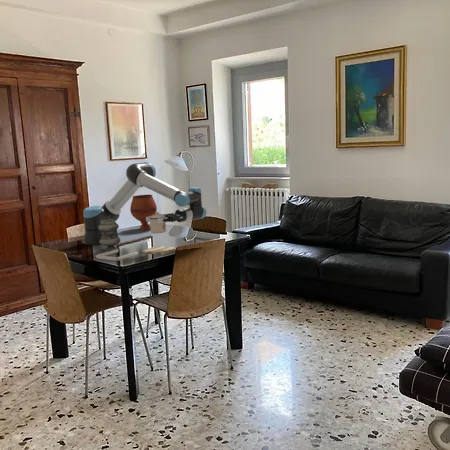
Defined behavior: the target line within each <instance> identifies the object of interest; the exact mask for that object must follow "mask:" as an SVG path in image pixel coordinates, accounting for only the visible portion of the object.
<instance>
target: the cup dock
mask: <svg viewBox="0 0 450 450" xmlns="http://www.w3.org/2000/svg"><path fill="white" fill-rule="evenodd" d="M116 253H119V250H118V249H116V250H112V251H109V252H102V253H98V252H97V253H96V254H95V259H100V260H109V261H116V262H118V261H121V260H125V259H128V258H132V257H135V256H137V255H139V251H135V252H131V253H128V254H127V253H126V254H123V255H121V256H117V257H116V256H110V255H113V254H116Z"/></svg>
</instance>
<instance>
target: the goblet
mask: <svg viewBox="0 0 450 450" xmlns="http://www.w3.org/2000/svg"><path fill="white" fill-rule="evenodd" d="M129 209H130V214H131V216H132V217H133V218H134V219H136V220H137V221H139V222H140V224H141V225H140V226H139V231H145V230H147V231H148V230H151V227H150V225H149V222H146V217H150V216H152V215H154V214H155V212H158V211H157V209H158V208H157V203H156V201H155V199H154V197H153V194H140V195H132V199H131V203H130V207H129Z"/></svg>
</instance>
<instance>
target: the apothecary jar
mask: <svg viewBox="0 0 450 450" xmlns="http://www.w3.org/2000/svg"><path fill="white" fill-rule="evenodd" d="M119 227H120V226H119V223H117V222H116V221H115V220H103V221H101V224H100V225H99V227H98V229H99V230H100V231H101V239H100V244H99V245H101V246H103V247H105V248H103V249H102V253H105V252H109V251H112V250H116V249H118V251H119V250H120V248H119V247H117V245H118V244H120V242H121V239H120V238H121V237H119V236H118V229H119Z"/></svg>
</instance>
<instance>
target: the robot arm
mask: <svg viewBox="0 0 450 450" xmlns="http://www.w3.org/2000/svg"><path fill="white" fill-rule="evenodd" d="M156 171H157V170H156V168H155V166H154V165H153V164H152V163H150V162H138V163H136V162H135V163H132V164H130V165H129V166H128V167H127V168H126V172H125V174H126V178H127V180H126V182H125V183H124V184H123V185H122V186H121V188H119V190H118V191H117V192H116V193H115V195H114V196H113V197H112V198H111V199H110V200H106V201H105V202H104V204H103V205H102V206H100V205H93V206H88V207H86V208H84V209H83V212H82V213H83V222H84V223H83V224H84V235H83V240H82V243H83V245H84V244H85V245H84V246H94V245H95V246H97V245H101V244H100V239H101V231H100V230H99V229H98V227H99V225H100V224H101V221H103V220H115V222H116V221H118V219H120V213H121V211H122V210H121V209H122V208H123V207H124V206H125V204H126V203H127V202H128V201H129V200H130V199H131V198H133V196H134V195H135V194H136V193H137V191H138V190H139V188H146V189H147V190H150V191H153V192H154V193H157V194H159V195H161V196H163V197H165V198H166V199H169V200H171V201H173V202H175V204H176V205H177V206H178V207H181V208H180V209H176V210H175V211H174V212H171V213H163V214H162V213H161V214H162V215H165V218H159V219H157V223H158V224H159V223H170V222H171V223H175V222H178V223H183V222H189V221H194V220H200V219H204V218H205V217H206V216H207V210H206V207H205V206H203V205H202V200H203V199H202V190H201V187H199V186H197V187H196V186H192V187H189V188H188V191H186V192H185V191H183V190H181V189H179V188H177V187H176V186H173V185H170V184H168V183H166V182H165V181H162V180H160V179H158V178H157V177H156V175H157V173H156ZM187 206H189V207H187ZM182 207H185V208H182ZM146 222H148V223H150V217H146Z"/></svg>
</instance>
